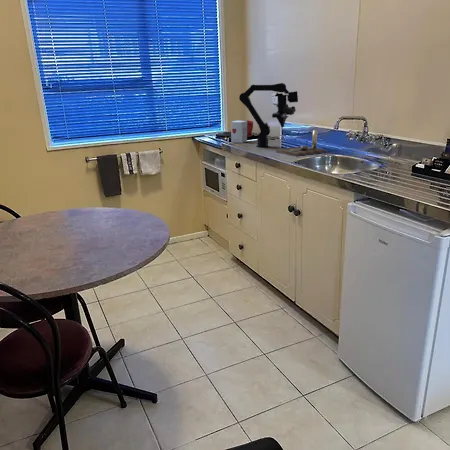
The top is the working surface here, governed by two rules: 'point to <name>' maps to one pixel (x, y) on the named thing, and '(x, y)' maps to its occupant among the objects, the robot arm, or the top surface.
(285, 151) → the brown flat board
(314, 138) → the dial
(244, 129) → the supplement box
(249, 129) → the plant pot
